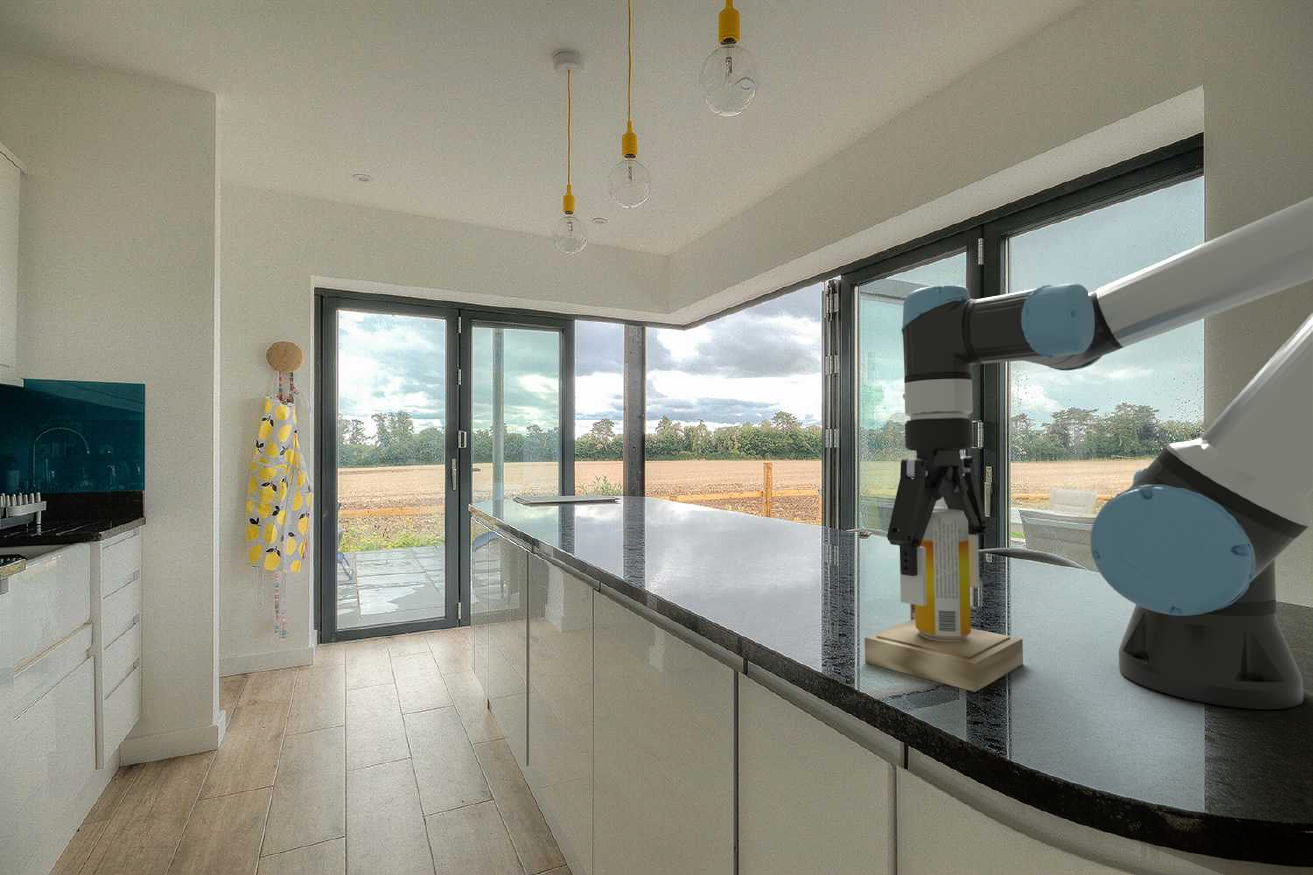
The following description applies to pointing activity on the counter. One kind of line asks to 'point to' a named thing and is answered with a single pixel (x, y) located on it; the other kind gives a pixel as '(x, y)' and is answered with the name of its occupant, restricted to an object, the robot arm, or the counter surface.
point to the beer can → (946, 578)
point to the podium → (945, 655)
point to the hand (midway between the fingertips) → (941, 594)
